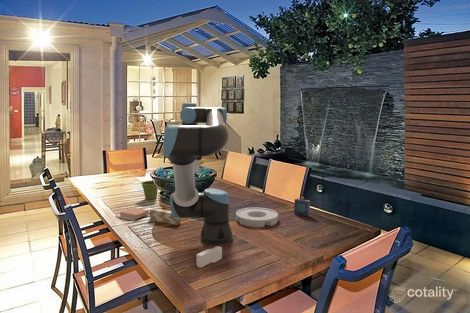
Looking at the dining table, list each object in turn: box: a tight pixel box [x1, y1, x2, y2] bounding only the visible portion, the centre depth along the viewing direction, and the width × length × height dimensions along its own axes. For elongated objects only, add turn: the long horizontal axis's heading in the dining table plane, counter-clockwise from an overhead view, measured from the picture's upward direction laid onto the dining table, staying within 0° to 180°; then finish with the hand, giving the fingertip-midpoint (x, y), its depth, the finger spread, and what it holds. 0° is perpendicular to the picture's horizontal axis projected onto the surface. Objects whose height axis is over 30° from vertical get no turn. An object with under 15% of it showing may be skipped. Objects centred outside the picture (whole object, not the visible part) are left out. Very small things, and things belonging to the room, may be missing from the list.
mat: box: [115, 210, 150, 221], centre depth 201 cm, size 13×16×1 cm
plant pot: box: [140, 180, 159, 201], centre depth 233 cm, size 12×12×11 cm
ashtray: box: [235, 206, 279, 228], centre depth 194 cm, size 23×23×4 cm
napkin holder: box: [196, 245, 223, 268], centre depth 141 cm, size 15×11×6 cm
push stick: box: [149, 207, 181, 226], centre depth 189 cm, size 18×3×6 cm, turn 65°
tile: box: [119, 207, 150, 220], centre depth 198 cm, size 2×10×12 cm
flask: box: [293, 196, 311, 217], centre depth 203 cm, size 9×3×11 cm, turn 61°
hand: (190, 174), depth 182 cm, fingers open, 13 cm apart
